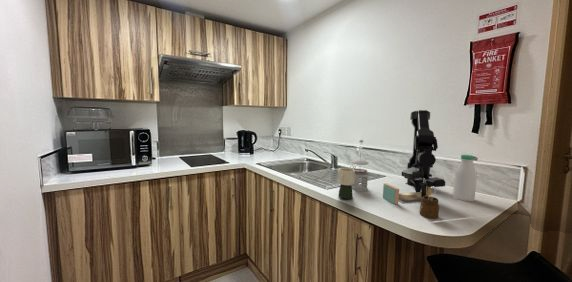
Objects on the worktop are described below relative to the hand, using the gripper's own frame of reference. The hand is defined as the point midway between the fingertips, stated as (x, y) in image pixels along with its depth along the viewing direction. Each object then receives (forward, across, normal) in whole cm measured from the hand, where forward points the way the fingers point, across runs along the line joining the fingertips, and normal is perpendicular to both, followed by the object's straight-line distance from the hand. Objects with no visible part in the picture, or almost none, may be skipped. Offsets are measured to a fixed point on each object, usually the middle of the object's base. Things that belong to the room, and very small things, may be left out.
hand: (420, 196), depth 103 cm
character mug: (+1, -8, -32) cm, 33 cm away
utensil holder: (+1, +16, -12) cm, 20 cm away
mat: (+1, 0, -4) cm, 4 cm away
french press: (+2, -18, -20) cm, 27 cm away
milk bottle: (+1, +4, +20) cm, 20 cm away
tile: (+1, 0, -16) cm, 16 cm away
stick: (+1, 0, -4) cm, 4 cm away
